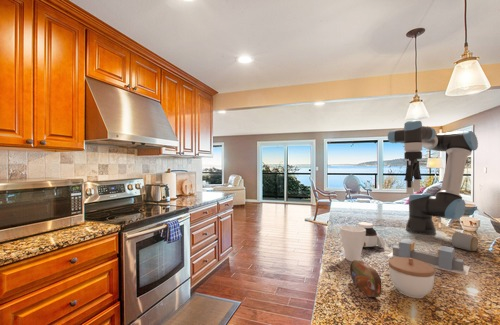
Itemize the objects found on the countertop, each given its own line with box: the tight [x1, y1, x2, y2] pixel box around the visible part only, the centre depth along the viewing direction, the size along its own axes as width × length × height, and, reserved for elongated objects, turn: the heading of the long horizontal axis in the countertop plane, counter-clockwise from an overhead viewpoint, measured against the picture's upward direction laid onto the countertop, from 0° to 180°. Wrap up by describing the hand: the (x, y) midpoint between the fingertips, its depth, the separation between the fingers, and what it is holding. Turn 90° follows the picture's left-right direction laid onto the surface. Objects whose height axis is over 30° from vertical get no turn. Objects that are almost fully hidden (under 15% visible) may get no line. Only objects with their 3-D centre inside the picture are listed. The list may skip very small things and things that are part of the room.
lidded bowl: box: [388, 257, 436, 299], centre depth 80 cm, size 13×13×11 cm
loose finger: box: [398, 238, 416, 258], centre depth 108 cm, size 7×4×7 cm, turn 134°
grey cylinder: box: [451, 231, 479, 252], centre depth 120 cm, size 11×8×8 cm
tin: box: [349, 260, 383, 298], centre depth 81 cm, size 15×3×8 cm, turn 5°
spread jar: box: [357, 221, 386, 250], centre depth 123 cm, size 12×11×12 cm
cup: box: [339, 225, 366, 262], centre depth 107 cm, size 10×10×14 cm
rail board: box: [386, 245, 471, 276], centre depth 104 cm, size 11×27×4 cm, turn 44°
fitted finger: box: [437, 245, 455, 272], centre depth 98 cm, size 7×4×7 cm, turn 134°
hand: (413, 193), depth 125 cm, fingers open, 13 cm apart
